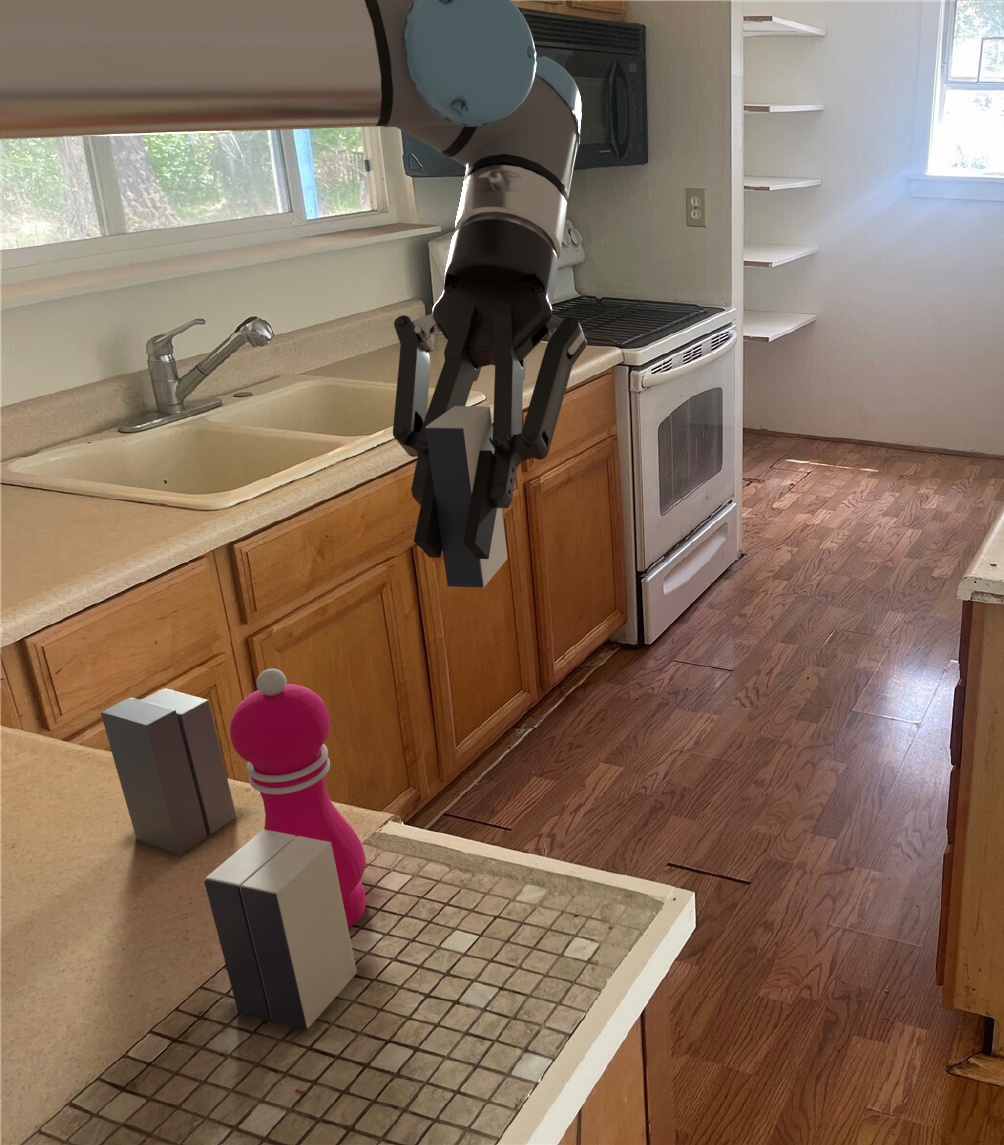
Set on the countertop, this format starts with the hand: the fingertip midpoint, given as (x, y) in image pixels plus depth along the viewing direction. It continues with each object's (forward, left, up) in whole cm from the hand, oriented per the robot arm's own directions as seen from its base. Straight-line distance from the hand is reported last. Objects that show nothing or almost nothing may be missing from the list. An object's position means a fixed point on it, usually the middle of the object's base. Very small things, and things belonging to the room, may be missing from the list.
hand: (451, 549), depth 68 cm
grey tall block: (-12, -9, -27) cm, 31 cm away
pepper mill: (-12, -1, -27) cm, 30 cm away
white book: (+1, +4, -3) cm, 5 cm away
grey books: (-25, +11, -27) cm, 39 cm away
